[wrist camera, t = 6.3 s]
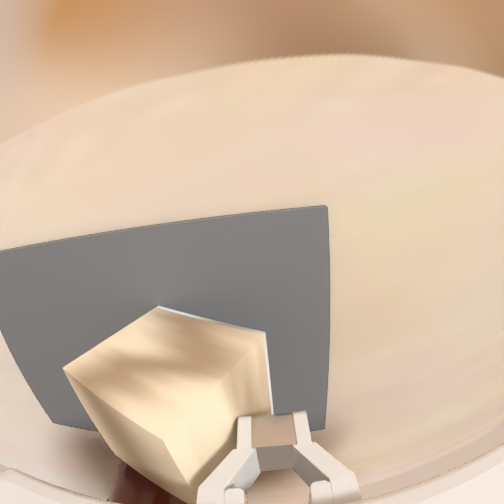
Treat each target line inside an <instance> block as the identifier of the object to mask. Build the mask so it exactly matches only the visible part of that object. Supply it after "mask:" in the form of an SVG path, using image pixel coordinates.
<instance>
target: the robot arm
mask: <svg viewBox="0 0 504 504" xmlns="http://www.w3.org/2000/svg"><path fill="white" fill-rule="evenodd" d="M282 469H293V470H294V471H295V472H296V473H297V474H298V475H299V476H300V477H301V478H302V479H303V480H304V482H305V483H306V484H307V485H308V486H309V487H310V495H309V504H504V443H503V444H501V445H499V446H498V447H496V448H494V449H492V450H490V451H489V452H487V453H485V454H483V455H482V456H479V457H477V458H475V459H473V460H472V461H470V462H467V463H465V464H463V465H461V466H459V467H457V468H454V469H452V470H450V471H448V472H446V473H443V474H441V475H438V476H436V477H433V478H431V479H428V480H426V481H423V482H420V483H417V484H415V485H412V486H409V487H406V488H403V489H400V490H397V491H393V492H390V493H387V494H383V495H380V496H376V497H372V498H368V499H365V500H362V499H361V495H360V491H359V487H358V483H357V479H356V475H355V473H353V472H352V471H351V470H350V469H348V468H347V467H346V466H344V465H343V464H342V463H341V462H339V461H338V460H337V459H336V458H334V457H333V456H332V455H331V454H330V453H328V452H327V451H326V450H325V449H324V448H322V447H321V446H320V445H319V444H318V443H316V442H312V440H311V435H310V430H309V424H308V419H307V414H306V412H305V411H299V412H290V413H281V414H272V415H262V416H243V417H239V418H238V427H237V449H233V450H232V451H231V452H230V453H229V454H228V455H227V457H226V458H225V459H224V460H223V461H222V462H221V463H220V464H219V466H218V467H217V468H216V469H215V470H214V471H213V472H212V473H211V474H210V475H209V476H208V478H207V479H206V480H205V481H204V482H203V483H202V484H201V485H200V486H199V488H198V495H197V503H196V504H248V502H247V499H246V496H245V495H246V493H247V492H248V491H249V489H250V488H251V486H252V485H253V483H254V482H255V480H256V479H257V477H258V476H259V474H260V473H261V472H260V471H271V470H282ZM0 504H120V503H115V502H111V501H106V500H102V499H98V498H95V497H91V496H87V495H84V494H80V493H77V492H74V491H71V490H68V489H65V488H62V487H59V486H56V485H53V484H50V483H48V482H45V481H42V480H40V479H37V478H35V477H32V476H30V475H28V474H25V473H23V472H21V471H19V470H16V469H12V468H10V469H7V470H4V471H2V472H0Z"/></svg>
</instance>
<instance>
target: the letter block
mask: <svg viewBox="0 0 504 504" xmlns="http://www.w3.org/2000/svg"><path fill="white" fill-rule="evenodd" d="M63 370H64V372H65V374H66V376H67V378H68V380H69V382H70V384H71V385H72V387H73V389H74V391H75V393H76V394H77V396H78V398H79V400H80V401H81V403H82V405H83V407H84V408H85V410H86V412H87V413H88V415H89V416H90V418H91V420H92V421H93V423H94V424H95V426H96V428H97V429H98V431H99V432H100V434H101V435H102V437H103V438H104V440H105V441H106V442H107V444H108V445H109V447H110V448H111V450H112V451H113V452H114V454H115V455H116V456H118V457H119V458H120V459H122V460H123V461H124V462H125V463H127V464H128V465H129V466H131V467H132V468H133V469H135V470H136V471H138V472H139V473H140V474H142V475H143V476H145V477H146V478H148V479H149V480H151V481H152V482H154V483H155V484H157V485H158V486H160V487H161V488H163V489H164V490H166V491H167V492H169V493H171V494H172V495H174V496H176V497H177V498H179V499H181V500H182V501H184V502H186V503H187V504H196V503H197V495H198V488H199V486H200V485H201V484H202V483H203V482H204V481H205V480H206V479H207V478H208V476H209V475H210V474H211V473H212V472H213V471H214V470H215V469H216V468H217V467H218V466H219V464H220V463H221V462H222V461H223V460H224V459H225V458H226V457H227V455H228V454H229V453H230V452H231V451H232V450H233V449H237V427H238V418H239V417H243V416H262V415H272V414H274V412H273V401H272V391H271V381H270V371H269V361H268V351H267V342H266V332H263V331H259V330H254V329H250V328H245V327H241V326H236V325H232V324H228V323H224V322H219V321H215V320H211V319H207V318H203V317H199V316H195V315H191V314H188V313H184V312H180V311H176V310H172V309H169V308H165V307H162V306H157V307H156V308H154V309H152V310H151V311H149V312H148V313H146V314H145V315H143V316H142V317H140V318H138V319H137V320H135V321H134V322H132V323H131V324H129V325H128V326H126V327H125V328H123V329H121V330H120V331H118V332H117V333H115V334H114V335H112V336H111V337H109V338H108V339H106V340H104V341H103V342H101V343H100V344H98V345H97V346H95V347H94V348H92V349H91V350H89V351H87V352H86V353H84V354H83V355H81V356H80V357H78V358H77V359H75V360H74V361H72V362H71V363H69V364H68V365H66V366H64V367H63Z"/></svg>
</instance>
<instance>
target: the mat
mask: <svg viewBox="0 0 504 504" xmlns="http://www.w3.org/2000/svg"><path fill="white" fill-rule="evenodd" d="M157 306H162V307H165V308H169V309H172V310H176V311H180V312H184V313H188V314H191V315H195V316H199V317H203V318H207V319H211V320H215V321H219V322H224V323H228V324H232V325H236V326H241V327H245V328H250V329H254V330H259V331H263V332H266V342H267V351H268V361H269V371H270V381H271V391H272V401H273V412H274V414H281V413H290V412H299V411H305V412H306V414H307V419H308V424H309V430H310V431H316V430H322V429H325V419H326V405H327V390H328V371H329V344H330V251H329V224H328V207H327V206H325V205H321V206H310V207H300V208H289V209H279V210H270V211H260V212H251V213H242V214H233V215H225V216H216V217H208V218H200V219H192V220H185V221H177V222H170V223H162V224H155V225H148V226H141V227H135V228H128V229H121V230H115V231H108V232H102V233H96V234H90V235H84V236H78V237H72V238H66V239H60V240H55V241H49V242H44V243H38V244H33V245H27V246H22V247H17V248H12V249H7V250H2V251H0V330H1V333H2V335H3V337H4V339H5V341H6V343H7V346H8V348H9V350H10V352H11V354H12V356H13V358H14V359H15V361H16V363H17V365H18V367H19V369H20V371H21V372H22V374H23V376H24V378H25V380H26V381H27V383H28V385H29V386H30V388H31V390H32V391H33V393H34V395H35V396H36V398H37V400H38V401H39V403H40V404H41V406H42V407H43V409H44V410H45V412H46V413H47V415H48V416H49V418H50V419H51V421H52V422H53V423H56V424H60V425H65V426H70V427H75V428H80V429H86V430H92V431H98V429H97V428H96V426H95V424H94V423H93V421H92V420H91V418H90V416H89V415H88V413H87V412H86V410H85V408H84V407H83V405H82V403H81V401H80V400H79V398H78V396H77V394H76V393H75V391H74V389H73V387H72V385H71V384H70V382H69V380H68V378H67V376H66V374H65V372H64V370H63V367H64V366H66V365H68V364H69V363H71V362H72V361H74V360H75V359H77V358H78V357H80V356H81V355H83V354H84V353H86V352H87V351H89V350H91V349H92V348H94V347H95V346H97V345H98V344H100V343H101V342H103V341H104V340H106V339H108V338H109V337H111V336H112V335H114V334H115V333H117V332H118V331H120V330H121V329H123V328H125V327H126V326H128V325H129V324H131V323H132V322H134V321H135V320H137V319H138V318H140V317H142V316H143V315H145V314H146V313H148V312H149V311H151V310H152V309H154V308H156V307H157ZM98 432H99V431H98Z"/></svg>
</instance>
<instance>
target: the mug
mask: <svg viewBox="0 0 504 504" xmlns="http://www.w3.org/2000/svg"><path fill="white" fill-rule="evenodd" d="M106 501H111V502H115V503H120V504H187V503H186V502H184V501H182V500H181V499H179V498H177V497H176V496H174V495H172V494H171V493H169V492H167V491H166V490H164V489H163V488H161V487H160V486H158V485H157V484H155V483H154V482H152V481H151V480H149V479H148V478H146V477H145V476H143V475H142V474H140V473H139V472H138V471H136V470H135V469H133V468H132V467H131V466H129V465H128V464H127V463H125V462H124V461H123V460H122V461H121V463H120V464H119V465H118V468H117V473H116V476H115V480H114V483H113V486H112V490H111V494H110V498H109V499H108V500H106Z"/></svg>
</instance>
